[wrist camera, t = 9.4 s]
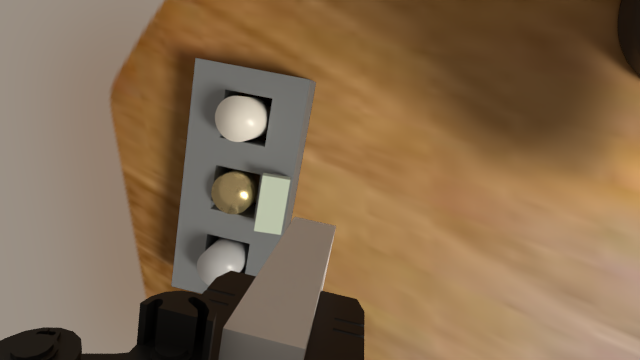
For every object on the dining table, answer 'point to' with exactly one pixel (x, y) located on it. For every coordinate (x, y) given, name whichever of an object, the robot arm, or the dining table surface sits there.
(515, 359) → the dining table surface
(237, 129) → the white rounded piece
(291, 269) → the robot arm
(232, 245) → the white rounded dome
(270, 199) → the block
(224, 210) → the brass button
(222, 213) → the console
